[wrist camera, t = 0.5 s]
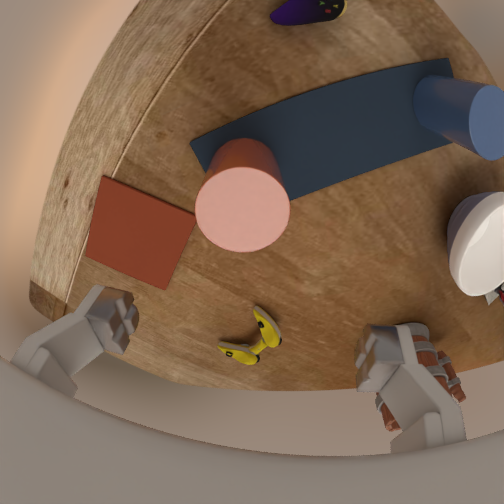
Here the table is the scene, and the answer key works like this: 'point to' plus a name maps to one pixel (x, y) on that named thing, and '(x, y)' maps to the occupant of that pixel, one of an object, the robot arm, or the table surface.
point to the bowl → (477, 243)
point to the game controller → (251, 354)
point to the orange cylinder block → (243, 197)
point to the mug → (433, 363)
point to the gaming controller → (308, 11)
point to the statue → (495, 294)
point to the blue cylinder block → (462, 113)
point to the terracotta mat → (137, 233)
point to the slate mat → (337, 128)
